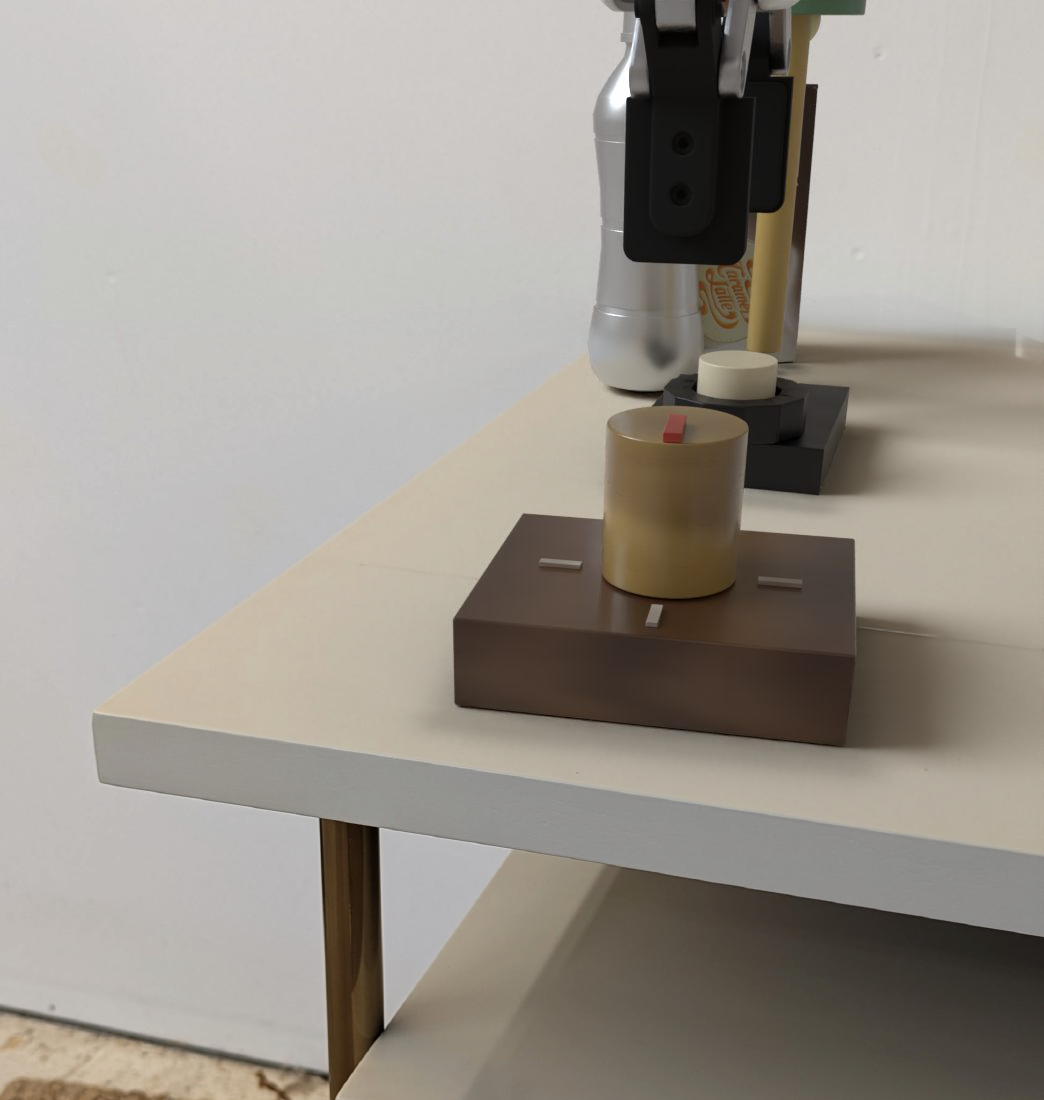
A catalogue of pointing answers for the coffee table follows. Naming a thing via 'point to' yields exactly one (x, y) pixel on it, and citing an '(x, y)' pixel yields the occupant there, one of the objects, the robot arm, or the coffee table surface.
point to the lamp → (779, 225)
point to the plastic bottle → (635, 272)
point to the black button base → (779, 430)
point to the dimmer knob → (673, 500)
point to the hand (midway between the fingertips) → (711, 233)
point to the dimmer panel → (663, 637)
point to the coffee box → (731, 285)
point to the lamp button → (737, 375)
